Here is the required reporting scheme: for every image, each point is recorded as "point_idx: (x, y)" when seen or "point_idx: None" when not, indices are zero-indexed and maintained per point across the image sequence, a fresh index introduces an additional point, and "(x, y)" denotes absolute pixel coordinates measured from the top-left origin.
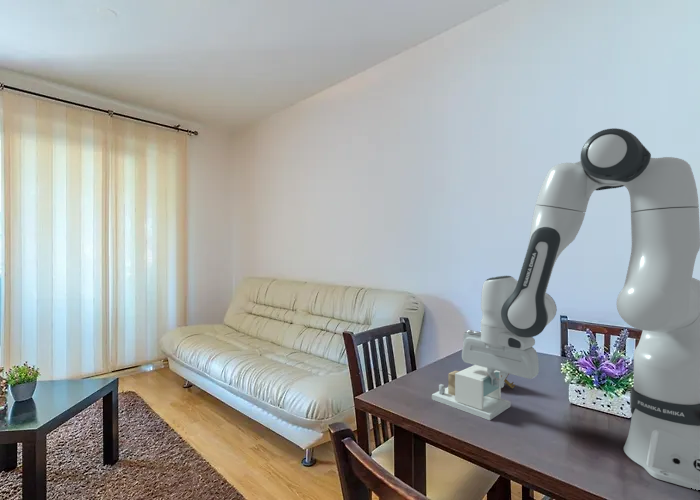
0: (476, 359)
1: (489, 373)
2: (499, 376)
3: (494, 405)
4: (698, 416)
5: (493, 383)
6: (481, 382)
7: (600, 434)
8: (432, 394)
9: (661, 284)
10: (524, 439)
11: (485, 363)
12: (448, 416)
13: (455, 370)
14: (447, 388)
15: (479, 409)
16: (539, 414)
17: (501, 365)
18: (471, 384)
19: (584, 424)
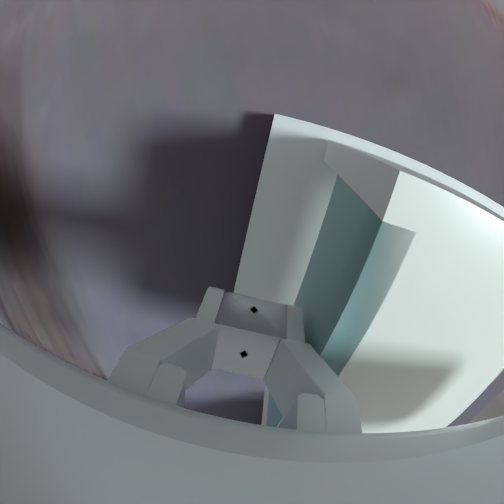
0: (496, 474)
1: (327, 384)
2: (265, 419)
3: (280, 248)
4: None
5: (280, 310)
6: (393, 169)
7: (5, 245)
8: None
9: None
10: (109, 47)
11: (400, 483)
12: (447, 74)
13: (494, 379)
14: None
15: None
16: (126, 293)
17: (80, 469)
18: (460, 195)
19: (37, 283)
